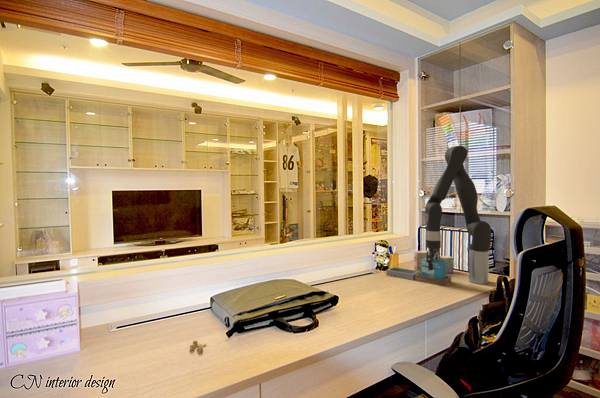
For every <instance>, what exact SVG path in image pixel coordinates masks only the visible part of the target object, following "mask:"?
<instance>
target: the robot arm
mask: <svg viewBox="0 0 600 398" xmlns="http://www.w3.org/2000/svg"><path fill="white" fill-rule="evenodd" d="M467 157H468V149H467V148H466V147H465V146H463V145H455V146H452V147H449V148H447V150H445V152H444V158H445V161H446V164H447V166H446V167H445V170H444V172H443V173H442V174H441V175H440V177H439V179H437V182H436V183H435V186H434V189H433V191H432V194H431V196H430V197H429V198H428V200H427V202H426V204H425V208H424V211H425V213H426V214H427V215H428V220H426V229H425V230H426V231H425V232H426V233H425V248H426V249H428V250H426V251H427V257H426V262H428V270H433V260H435V259H437V260H439V259H440V256H441V248H442V235H441V221H442V217H443V216H442V215H443V209H442V208H443V207H442V205H441V204H442V202H443V201H444V200H445V199H446V198H447V195H448V193H449V191H450V188H451V186H452V183H453V184H454V187H455V190H456V194H457V197H458V199H459V202H460V206H461V209H462V213H463V216H464V221H465V227H466V231H467V233H468V234H469V235H470V236H472V243H470V244H469V249H468V251H469V255H468V281H469V282H470V283H473V284H477V285H488V284H489V269H490V268H489V260H490V256H489V255H490V254H489V253H490V248H491V244H492V227H491V225H490V224H489V223H488V222H486V221H483V220H481V218H480V215H479V212H478V202H479V195H478V193H477V188H476V186H475V183H474V181H473V180H472V178H471V177H470V176H469V174H468V173H467V171H466V169H465V166H464V163H465V161H466V160H467Z"/></svg>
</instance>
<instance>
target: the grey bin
mask: <svg viewBox="0 0 600 398" xmlns="http://www.w3.org/2000/svg"><path fill="white" fill-rule="evenodd" d="M385 272H386V273H385V274H386V276H389V277H395V278H400V279H405V280H411V281H415V275H416V274H418V273H420V271H416V270H414V269H409V268H404V267H398V266H397V267H396V266H392V267H390V268H388V269H386V271H385Z"/></svg>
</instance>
